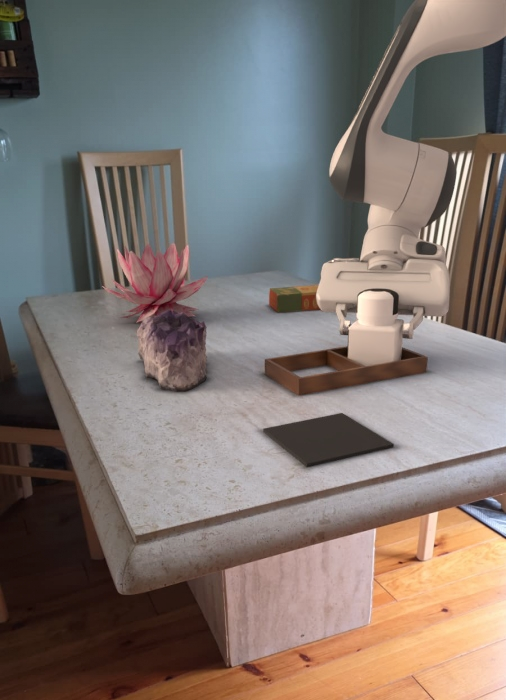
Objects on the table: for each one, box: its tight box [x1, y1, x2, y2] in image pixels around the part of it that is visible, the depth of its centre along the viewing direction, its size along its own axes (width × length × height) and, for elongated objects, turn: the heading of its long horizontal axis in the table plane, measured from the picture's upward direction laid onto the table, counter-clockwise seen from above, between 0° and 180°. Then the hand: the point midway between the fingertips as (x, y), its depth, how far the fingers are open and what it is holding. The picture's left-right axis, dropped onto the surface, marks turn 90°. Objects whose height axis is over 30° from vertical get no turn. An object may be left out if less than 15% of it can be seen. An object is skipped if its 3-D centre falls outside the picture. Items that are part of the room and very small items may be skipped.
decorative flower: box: [101, 242, 209, 324], centre depth 130 cm, size 21×21×15 cm
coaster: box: [262, 412, 395, 468], centre depth 72 cm, size 11×11×1 cm
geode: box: [136, 310, 208, 393], centre depth 96 cm, size 20×12×10 cm, turn 14°
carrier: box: [264, 345, 429, 396], centre depth 94 cm, size 22×11×2 cm, turn 114°
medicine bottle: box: [347, 288, 405, 366], centre depth 94 cm, size 7×7×12 cm
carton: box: [268, 284, 321, 314], centre depth 139 cm, size 8×16×4 cm, turn 100°
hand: (375, 335), depth 94 cm, fingers open, 8 cm apart
